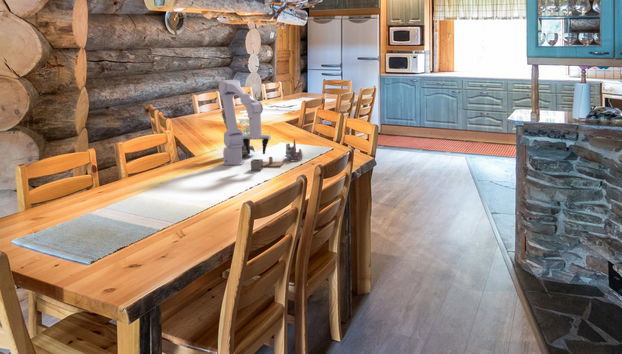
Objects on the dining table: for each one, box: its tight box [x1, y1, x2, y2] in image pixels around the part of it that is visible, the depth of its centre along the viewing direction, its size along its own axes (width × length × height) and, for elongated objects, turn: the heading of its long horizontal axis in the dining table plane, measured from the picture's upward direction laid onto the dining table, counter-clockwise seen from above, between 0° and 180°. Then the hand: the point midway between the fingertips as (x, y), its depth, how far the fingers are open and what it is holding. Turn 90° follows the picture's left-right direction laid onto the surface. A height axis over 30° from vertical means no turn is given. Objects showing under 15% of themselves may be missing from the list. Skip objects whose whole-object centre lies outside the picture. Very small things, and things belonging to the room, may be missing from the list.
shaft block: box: [263, 156, 285, 168], centre depth 296 cm, size 12×10×4 cm
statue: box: [220, 107, 256, 157], centre depth 321 cm, size 16×18×30 cm
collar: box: [250, 158, 264, 172], centre depth 286 cm, size 5×5×5 cm
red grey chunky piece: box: [284, 139, 304, 161], centre depth 310 cm, size 11×11×12 cm
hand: (256, 153), depth 284 cm, fingers open, 7 cm apart
